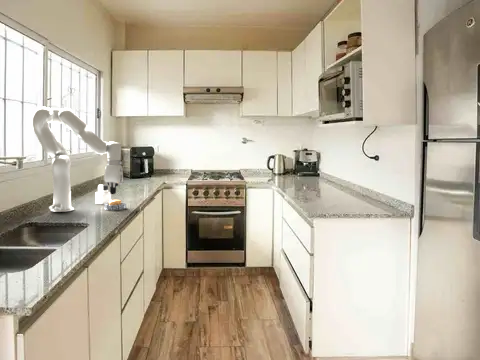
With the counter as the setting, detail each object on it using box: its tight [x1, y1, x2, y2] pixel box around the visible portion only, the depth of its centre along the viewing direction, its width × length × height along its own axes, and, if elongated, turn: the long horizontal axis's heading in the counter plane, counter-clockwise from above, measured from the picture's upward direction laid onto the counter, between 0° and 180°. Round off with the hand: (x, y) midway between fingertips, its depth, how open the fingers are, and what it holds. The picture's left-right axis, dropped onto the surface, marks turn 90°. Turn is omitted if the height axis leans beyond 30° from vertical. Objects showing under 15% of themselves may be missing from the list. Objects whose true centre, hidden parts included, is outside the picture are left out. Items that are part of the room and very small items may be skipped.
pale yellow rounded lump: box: [109, 199, 122, 205], centre depth 282 cm, size 7×7×4 cm
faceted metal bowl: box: [103, 201, 127, 211], centre depth 282 cm, size 13×13×3 cm
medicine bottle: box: [95, 184, 112, 205], centre depth 303 cm, size 7×7×12 cm
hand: (112, 193), depth 281 cm, fingers closed
